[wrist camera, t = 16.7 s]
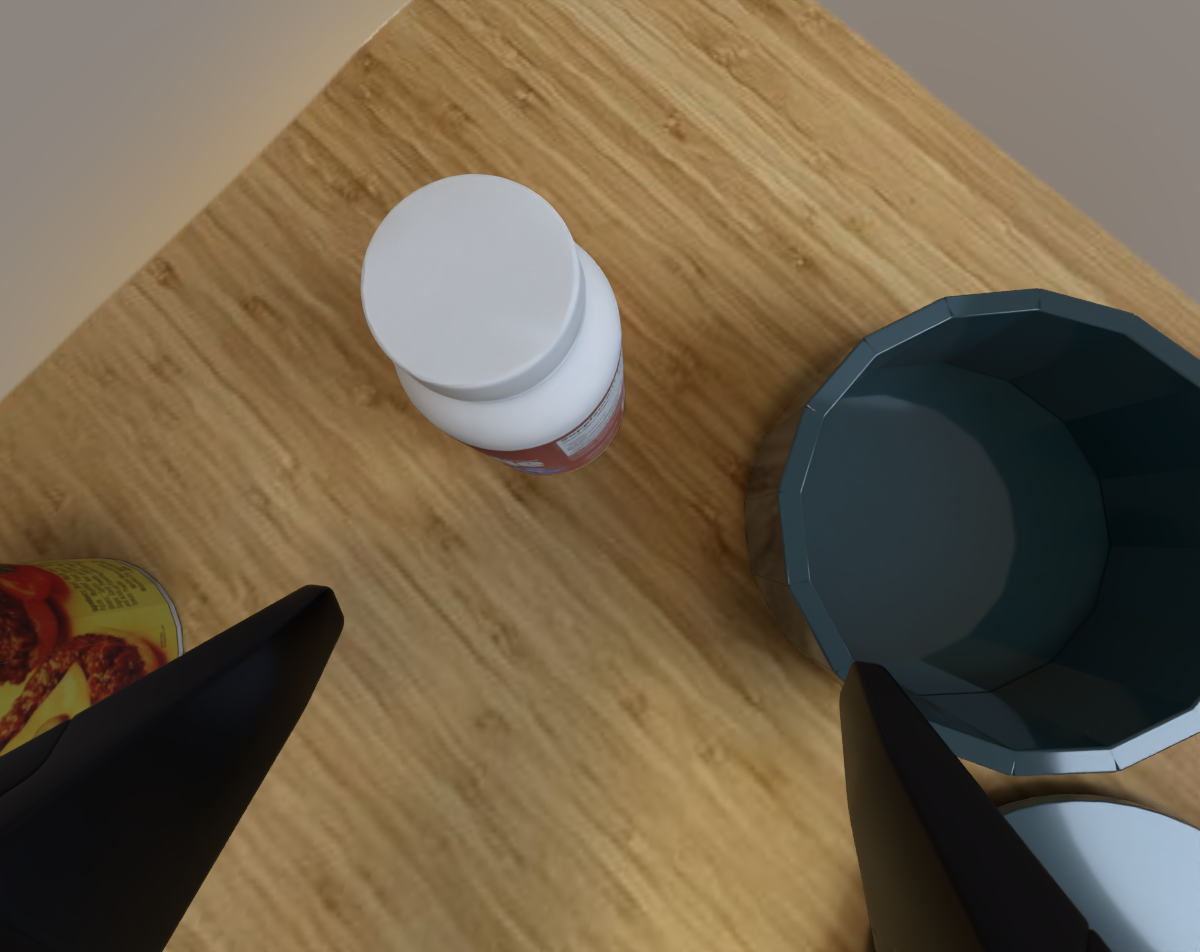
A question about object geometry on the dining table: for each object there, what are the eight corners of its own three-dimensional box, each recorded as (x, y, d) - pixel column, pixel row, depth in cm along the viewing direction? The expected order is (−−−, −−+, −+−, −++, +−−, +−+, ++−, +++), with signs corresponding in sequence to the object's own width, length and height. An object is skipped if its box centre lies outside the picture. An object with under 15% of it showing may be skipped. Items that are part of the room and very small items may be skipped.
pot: (763, 720, 20) (808, 785, 15) (729, 365, 22) (758, 313, 16) (1150, 701, 19) (1339, 765, 14) (1087, 334, 21) (1238, 269, 16)
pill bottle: (447, 414, 22) (261, 299, 11) (542, 302, 22) (451, 82, 11) (560, 509, 22) (479, 487, 11) (657, 393, 22) (678, 251, 11)
